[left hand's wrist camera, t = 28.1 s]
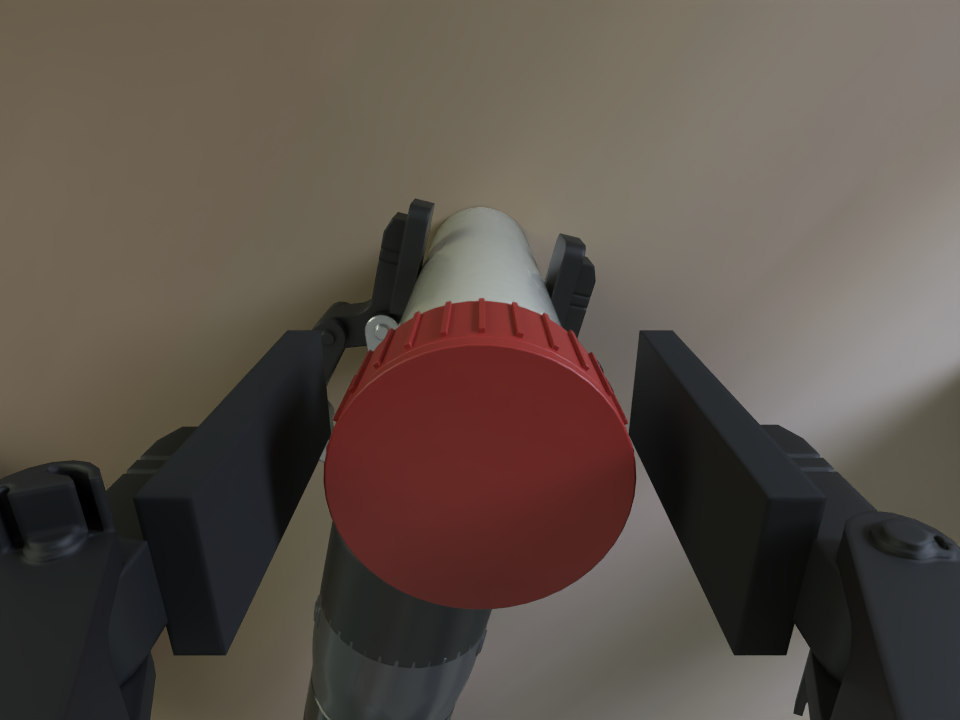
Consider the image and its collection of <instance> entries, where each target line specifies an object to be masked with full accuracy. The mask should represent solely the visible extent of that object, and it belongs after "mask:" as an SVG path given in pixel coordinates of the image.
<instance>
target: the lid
mask: <svg viewBox="0 0 960 720" xmlns="http://www.w3.org/2000/svg"><path fill="white" fill-rule="evenodd" d="M333 421H336V422H337V423H336V425H335V427H334V429H333V432H332V435H331V437H330V440H329V442H328V444H327V446H326V457H325V462H324V488H325V496H326V501H327V504H328V508H329V511H330V515H331V517H332V520H333V522H334V524H335V526H336V529H337V531H338V533H339V534H340V536H341V537H342V539H343V541H344V542H345V544H346V545H347V547H348V548H349V549H350V550H351V552H352V553H353V554H354V555H355V557H356V558H357V559H358V560H359V561H360V562H361V563H362V564H363V565H364V566H365V567H366V568H368V569H369V570H370V571H371V572H372V573H373V574H375V575H376V576H377V577H379V578H380V579H382V580H383V581H384V582H386V583H387V584H389V585H391V586H393V587H395V588H396V589H398V590H400V591H402V592H404V593H406V594H409V595H411V596H413V597H416V598H418V599H421V600H424V601H428V602H431V603H434V604H438V605H443V606H448V607H453V608H464V609H496V608H505V607H512V606H516V605H521V604H526V603H529V602H532V601H535V600H538V599H542V598H544V597H547V596H549V595H551V594H553V593H556V592H558V591H560V590H562V589H564V588H565V587H567V586H569V585H570V584H572V583H574V582H576V581H577V580H578V579H580V578H581V577H582V576H584V575H585V574H586V573H588V572H589V571H590V570H591V569H592V568H593V567H594V566H595V565H597V564H598V563H599V562H600V561H601V560H602V559H603V558H604V556H605V555H606V554H607V553H608V551H609V550H610V549H611V548H612V546H613V545H614V544H615V542H616V540H617V539H618V537H619V535H620V534H621V532H622V530H623V528H624V526H625V524H626V521H627V519H628V517H629V514H630V511H631V507H632V503H633V499H634V495H635V485H636V465H635V457H634V449H633V447H632V443H631V441H630V438H629V435H628V433H627V430H626V427H625V424H628V422H627V419H626V417H625V415H624V413H623V411H622V409H621V407H620V405H619V403H618V401H617V399H616V397H615V395H614V393H613V391H612V389H611V387H610V385H609V383H608V381H607V379H606V378H605V376H604V374H603V372H602V370H601V368H600V366H599V364H598V362H597V360H596V358H595V356H594V354H593V353H592V352H591V353H589V354H588V353H587V352H586V350H585V349H584V348H583V346H582V345H581V344H580V343H579V342H578V340H577V338H576V335H575V333H574V332H573V331H572V330H570V331H569V332H568V331H566V330H565V329H563V328H562V327H561V326H559V325H558V324H557V323H555V322H554V321H552V320H550V318H549V316H548V314H546V313H543V314H542V315H541V314H539V313H536V312H534V311H531V310H529V309H526V308H524V307H520V306H518V303H516V302H512V304H508V303H501V302H493V301H485V298H479V301H466V302H459V303H451V301H448V302H446V303H445V305H444V306H440V307H437V308H433V309H431V310H429V311H426V312H424V313H420V311H418V312H416V313H415V314H414V316H413V318H412V319H410V320H408V321H406V322H405V323H403V324H402V325H400V326H399V327H398V328H396V329H395V330H394V329H393V328H391V329H389V330H388V332H387V334H386V336H385V339H384V340H383V341H382V342H381V343H380V344H379V345H378V346H377V347H376V349H375V350H374V351H372V350H369V351H368V353H367V354H366V356H365V358H364V361H363V363H362V365H361V367H360V369H359V371H358V373H357V375H355V376H354V378H353V380H352V382H351V384H350V386H349V388H348V390H347V392H346V394H345V396H344V398H343V400H342V402H341V404H340V406H339V408H338V410H337V412H336V414H335V416H334V419H333Z"/></svg>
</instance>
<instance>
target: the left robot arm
mask: <svg viewBox="0 0 960 720" xmlns="http://www.w3.org/2000/svg"><path fill="white" fill-rule="evenodd" d="M330 436H331V427H330V417H329V408H328V398H327V389H326V380H325V370H324V361H323V352H322V342H321V333H320V331H287V332H286V333H285V334H284V335H283V336H282V337H281V338H280V339H279V340H278V341H277V342H276V343H275V345H274V346H273V347H272V348H271V349H270V350H269V351H268V352H267V353H266V354H265V355H264V356H263V358H262V359H261V360H260V361H259V362H258V363H257V364H256V365H255V366H254V367H253V368H252V369H251V370H250V372H249V373H248V374H247V375H246V376H245V377H244V378H243V379H242V380H241V381H240V382H239V383H238V385H237V386H236V387H235V388H234V389H233V390H232V391H231V392H230V393H229V394H228V395H227V396H226V397H225V399H224V400H223V401H222V402H221V403H220V404H219V405H218V406H217V407H216V408H215V409H214V410H213V412H212V413H211V414H210V415H209V416H208V417H207V418H206V419H205V420H204V421H203V422H202V423H201V424H200V426H199V427H181V428H179V429H177V430H176V431H174V432H172V433H170V434H168V435H167V436H165V437H163V438H161V439H159V440H157V441H156V442H155V443H154V444H153V445H152V446H151V447H150V448H149V449H148V450H147V451H146V452H145V453H144V454H143V455H142V456H141V460H137V461H136V462H135V463H134V464H133V465H132V466H131V467H130V468H129V469H128V470H127V474H123V475H122V476H121V477H120V478H119V479H118V480H117V481H116V482H115V483H114V484H113V485H112V486H111V487H110V488H109V489H108V490H107V491H105V487H104V484H103V480H102V476H101V473H100V469H99V468H98V467H96V466H95V465H93V464H91V463H90V462H82V461H74V460H73V461H61V462H51V463H47V464H43V465H39V466H35V467H31V468H27V469H25V470H22V471H20V472H17V473H15V474H12V475H9V476H7V477H5V478H3V479H1V480H0V720H150V716H151V708H152V701H153V693H154V685H155V677H156V674H155V667H154V662H153V658H152V655H151V651H150V650H151V649H152V647H153V645H154V644H155V642H156V641H157V639H158V637H159V636H160V634H161V633H162V631H163V629H164V628H165V626H166V627H167V631H168V635H169V639H170V643H171V647H172V650H173V654H174V655H226V654H227V652H228V650H229V648H230V645H231V643H232V641H233V639H234V637H235V635H236V633H237V631H238V629H239V627H240V625H241V622H242V620H243V618H244V616H245V614H246V612H247V610H248V608H249V606H250V604H251V601H252V599H253V597H254V595H255V593H256V591H257V589H258V587H259V585H260V583H261V581H262V578H263V576H264V574H265V572H266V570H267V568H268V566H269V564H270V562H271V560H272V557H273V555H274V553H275V551H276V549H277V547H278V545H279V543H280V541H281V539H282V537H283V534H284V532H285V530H286V528H287V526H288V524H289V522H290V520H291V518H292V516H293V513H294V511H295V509H296V507H297V505H298V503H299V501H300V499H301V497H302V495H303V493H304V490H305V488H306V486H307V484H308V482H309V480H310V478H311V476H312V474H313V472H314V469H315V467H316V465H317V463H318V461H319V459H320V457H321V455H322V453H323V451H324V449H325V446H326V444H327V442H328V440H329V438H330ZM629 436H630V438H631V440H632V442H633V444H634V446H635V449H636V451H637V453H638V455H639V457H640V459H641V461H642V463H643V465H644V467H645V469H646V472H647V474H648V476H649V478H650V480H651V482H652V484H653V486H654V488H655V490H656V493H657V495H658V497H659V499H660V501H661V503H662V505H663V507H664V509H665V511H666V513H667V516H668V518H669V520H670V522H671V524H672V526H673V528H674V530H675V532H676V534H677V537H678V539H679V541H680V543H681V545H682V547H683V549H684V551H685V553H686V555H687V557H688V560H689V562H690V564H691V566H692V568H693V570H694V572H695V574H696V576H697V578H698V581H699V583H700V585H701V587H702V589H703V591H704V593H705V595H706V597H707V599H708V601H709V604H710V606H711V608H712V610H713V612H714V614H715V616H716V618H717V620H718V622H719V625H720V627H721V629H722V631H723V633H724V635H725V637H726V639H727V641H728V643H729V645H730V648H731V650H732V652H733V654H734V655H786V654H787V650H788V647H789V643H790V639H791V635H792V631H793V627H794V624H795V625H796V626H797V628H798V629H799V631H800V633H801V634H802V636H803V637H804V639H805V641H806V642H807V644H808V645H809V647H810V651H809V655H808V658H807V662H806V665H805V669H804V673H803V676H802V680H801V683H800V687H799V690H798V694H797V698H796V701H795V707H794V713H793V714H797V715H800V716H802V715H803V712H804V708H805V705H806V703H807V702H808V707H809V714H810V720H960V548H959V547H958V546H957V544H956V543H955V542H954V541H953V540H951V539H950V538H948V537H947V536H945V535H944V534H942V533H941V532H939V531H938V530H937V529H935V528H932V527H930V526H928V525H926V524H924V523H921V522H919V521H917V520H915V519H912V518H908V517H905V516H901V515H897V514H894V513H888V512H878V511H877V510H876V509H875V508H874V507H873V506H872V505H871V504H870V503H869V502H868V501H867V500H866V499H865V498H863V497H862V496H861V495H860V494H859V493H858V492H857V491H856V490H855V489H854V488H853V487H852V486H851V485H850V484H849V483H848V482H847V481H846V480H845V479H844V478H843V477H842V476H841V475H840V474H839V473H838V472H834V470H833V467H832V466H831V465H830V464H829V463H828V462H827V461H826V460H825V459H824V458H820V454H818V453H817V452H816V451H815V450H814V449H813V448H812V447H811V446H810V445H809V444H808V443H807V442H806V441H805V440H804V439H803V438H801V437H799V436H798V435H796V434H794V433H792V432H790V431H788V430H787V429H785V428H783V427H781V426H779V425H760V424H759V423H758V422H757V421H756V420H755V419H754V418H753V417H752V416H751V415H750V414H749V413H748V412H747V410H746V409H745V408H744V407H743V406H742V405H741V404H740V403H739V402H738V401H737V400H736V399H735V397H734V396H733V395H732V394H731V393H730V392H729V391H728V390H727V389H726V388H725V387H724V386H723V385H722V383H721V382H720V381H719V380H718V379H717V378H716V377H715V376H714V375H713V374H712V373H711V372H710V370H709V369H708V368H707V367H706V366H705V365H704V364H703V363H702V362H701V361H700V360H699V359H698V358H697V356H696V355H695V354H694V353H693V352H692V351H691V350H690V349H689V348H688V347H687V346H686V345H685V343H684V342H683V341H682V340H681V339H680V338H679V337H678V336H677V335H676V334H675V333H674V332H673V331H640V333H639V342H638V352H637V361H636V370H635V380H634V389H633V398H632V408H631V417H630V427H629Z"/></svg>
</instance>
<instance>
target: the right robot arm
mask: <svg viewBox="0 0 960 720" xmlns="http://www.w3.org/2000/svg"><path fill="white" fill-rule="evenodd" d="M433 210H434V203H431V202H427V201H423V200H419V199H414V200H413V202H412V203H411V205H410V208H409V212H408V214H404V213H400V212H398V213H397V214H396V215H395V216H394V217H393V218H392V220H391V221H390V223H389V224H388V226H387V227H386V229H385V231H384V234H383V239H382V245H381V251H380V256H379V262H378V268H377V273H376V279H375V285H374V290H373V296H372V299H371V300H369V301H367V302H364V303H357V304H349V303H347V302H337V303H335V304H333V305H332V306H331V307H330V308H329V309H328V310H327V312H326V313H325V314H324V315H323V317H322V318H321V319H320V320H319V321H318V323H317V324H316V325H315V326H314V328H313V329H312V331H320V333H321V342H322V352H323V361H324V370H325V380H326V386H327V384H328V382H329V380H330V378H331V376H332V374H333V372H334V370H335V368H336V366H337V364H338V362H339V360H340V358H341V356H342V354H343V352H344V350H345V348H349V347H358V346H367V348H368V351H369V350H372V351H374V350H375V349H376V347H377V346H378V345H379V344H380V343H381V342H382V341H383V340H384V339H385V336H386V334H387V332H388V330H389V329H391V328H393V329H394V330H395V329H396V328H398V326H399V323H400V321H401V318H402V316H403V313H404V311H405V308H406V306H407V303H408V301H409V298H410V296H411V293H412V291H413V288H414V286H415V283H416V281H417V278H418V276H419V273H420V271H421V268H422V264H423V259H424V254H425V249H426V245H427V240H428V235H429V230H430V225H431V220H432V215H433ZM585 250H586V246H585V244H584V243H583V242H582V241H581V240H580V238H577V237H572V236H568V235H564V234H560V235H559V236H558V238H557V241H556V244H555V248H554V251H553V255H552V258H551V262H550V265H549V269H548V272H547V275H546V279H545V282H544V284H545V286H546V289H547V291H548V293H549V296H550V298H551V301H552V303H553V306H554V308H555V311H556V313H557V316H558V318H559V321H560V323H561V326H562V328H563V329H565V330H566V331H568V332H569V331H570V330H572V331H573V332H574V333H575V335H576V338H577V337H578V334H579V331H580V328H581V325H582V322H583V319H584V315H585V312H586V308H587V306H588V303H589V300H590V296H591V294H592V291H593V287H594V284H595V269H594V265H593V264H592V263H591V261H590V260H589V259H588V258H587V257H584V256H585ZM597 362H598V361H597ZM598 364H599V366H600V368H601V370H602V372H603V369H602V367H601V365H600V363H599V362H598ZM608 383H609V382H608ZM609 385H610V383H609ZM610 387H611V385H610ZM611 389H612V387H611ZM612 391H613V389H612ZM613 393H614V392H613ZM328 408H329V417H330V427H331V435H332V432H333V429H334V426H333V417H334V408H333V406H332V405H331V403H330V402H329V401H328ZM330 437H331V436H330ZM329 440H330V438H329ZM329 440H328V442H329ZM328 442H327V444H328ZM327 444H326V446H327ZM326 446H325V449H324V451H323V453H322V455H321V457H320V459H319V461H322V462H325V457H326ZM491 610H492V609H464V608H453V607H448V606H443V605H438V604H434V603H431V602H428V601H424V600H421V599H418V598H416V597H413V596H411V595H409V594H406V593H404V592H402V591H400V590H398V589H396V588H395V587H393V586H391V585H389V584H387V583H386V582H384V581H383V580H382V579H380V578H379V577H377V576H376V575H375V574H373V573H372V572H371V571H370V570H369V569H368V568H366V567H365V566H364V565H363V564H362V563H361V562H360V561H359V560H358V559H357V558H356V557H355V555H354V554H353V553H352V552H351V550H350V549H349V548H348V547H347V545H346V544H345V542H344V541H343V539H342V537H341V536H340V534H339V533H338V531H337V529H336V526H335V524H334V522H333V521H332V527H331V533H330V538H329V544H328V550H327V555H326V561H325V566H324V572H323V578H322V583H321V590H320V595H318V598H317V601H316V603H315V609H314V621H315V623H314V631H313V649H312V652H313V665H312V671H311V677H310V682H309V688H308V693H307V699H306V704H305V711H304V717H303V720H450V719H451V716H452V713H453V710H454V707H455V704H456V701H457V699H458V696H459V694H460V693H461V691H462V689H463V687H464V686H465V684H466V682H467V680H468V678H469V675H470V673H471V671H472V668H473V666H474V663H475V660H476V657H477V655H478V654H479V653H480V652H481V649H482V645H483V642H484V639H485V636H486V633H487V630H486V627H487V623H488V619H489V616H490V613H491Z"/></svg>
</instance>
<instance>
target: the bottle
mask: <svg viewBox="0 0 960 720" xmlns="http://www.w3.org/2000/svg"><path fill="white" fill-rule="evenodd" d="M479 298H485V301H493V302H501V303H508V304H512V302H516V303H518V306H520V307H524V308H526V309H529V310H531V311H534V312H536V313H539V314H541V315H542V314H543V313H546V314H548V316H549V318H550V320H552V321H554V322H555V323H557V324H558V325H559V326H561V323H560V321H559V318H558V316H557V313H556V311H555V308H554V306H553V303H552V301H551V298H550V296H549V293H548V291H547V289H546V286H545V284H544V281H543V279H542V276H541V274H540V271H539V269H538V266H537V264H536V261H535V259H534V256H533V254H532V251H531V249H530V246H529V244H528V241H527V239H526V237H525V235H524V233H523V231H522V230H521V228H520V227H519V225H518V224H517V223H516V222H515V221H514V220H513V219H511V218H510V217H509V216H507V215H506V214H504V213H502V212H500V211H497V210H494V209H490V208H483V207H477V208H469V209H465V210H463V211H460V212H458V213H456V214H454V215H453V216H451V217H450V218H448V219H447V220H446V221H445V222H444V223H443V224H442V225H441V227H440V228H439V229H438V231H437V233H436V234H435V237H434V239H433V241H432V244H431V246H430V249H429V251H428V254H427V256H426V259H425V261H424V263H423V266H422V268H421V271H420V273H419V276H418V278H417V281H416V283H415V286H414V288H413V291H412V293H411V296H410V298H409V301H408V303H407V306H406V308H405V311H404V313H403V316H402V318H401V321H400V323H399V326H400V325H402V324H403V323H405V322H406V321H408V320H410V319H412V318H413V316H414V314H415V313H416V312H418V311H420V313H424V312H426V311H429V310H431V309H433V308H437V307H440V306H444V305H445V303H446V302H448V301H451V303H459V302H466V301H479ZM399 326H398V327H399ZM561 327H562V326H561Z"/></svg>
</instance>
